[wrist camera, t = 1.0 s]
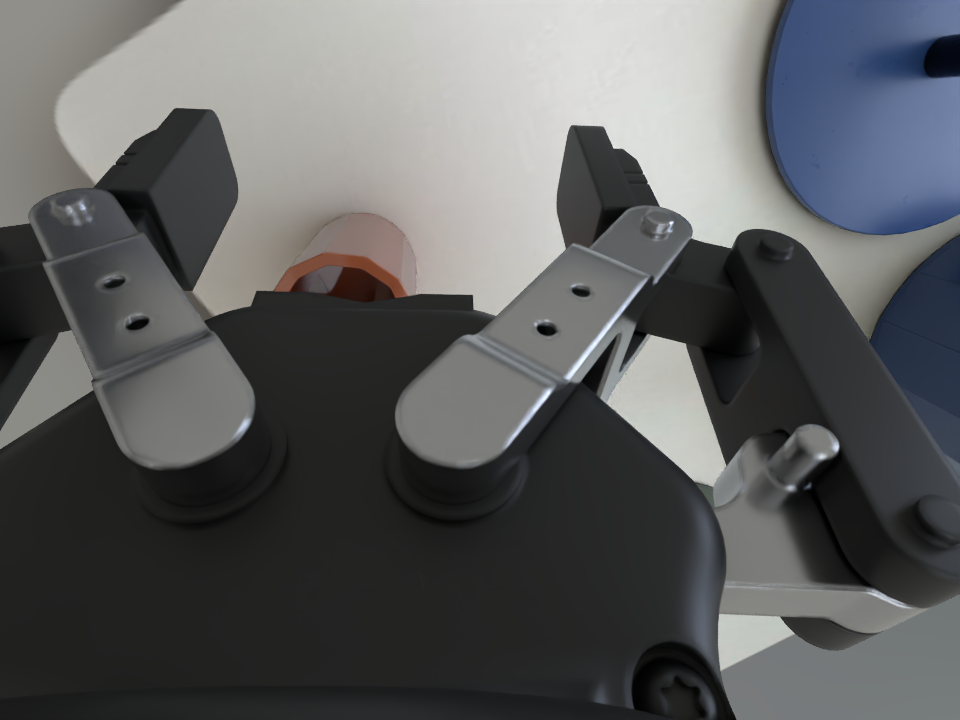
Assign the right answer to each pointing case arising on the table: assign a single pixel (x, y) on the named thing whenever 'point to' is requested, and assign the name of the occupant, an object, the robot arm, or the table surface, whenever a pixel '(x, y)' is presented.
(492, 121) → the table surface
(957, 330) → the pot
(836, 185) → the lid
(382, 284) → the cup
